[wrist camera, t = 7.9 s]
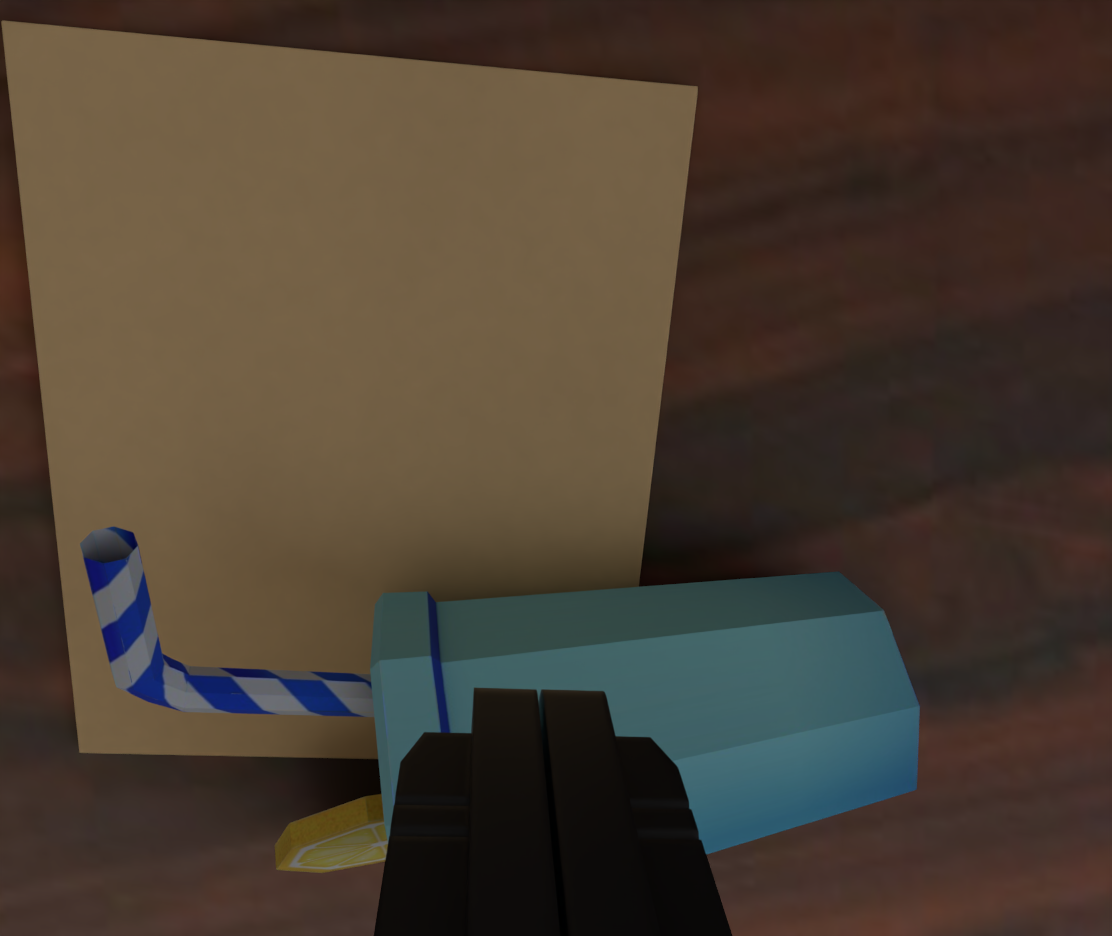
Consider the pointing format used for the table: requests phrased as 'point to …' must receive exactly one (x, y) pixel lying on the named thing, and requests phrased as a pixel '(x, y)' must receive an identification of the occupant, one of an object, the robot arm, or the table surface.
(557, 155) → the cork mat
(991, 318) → the table surface
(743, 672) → the cup
